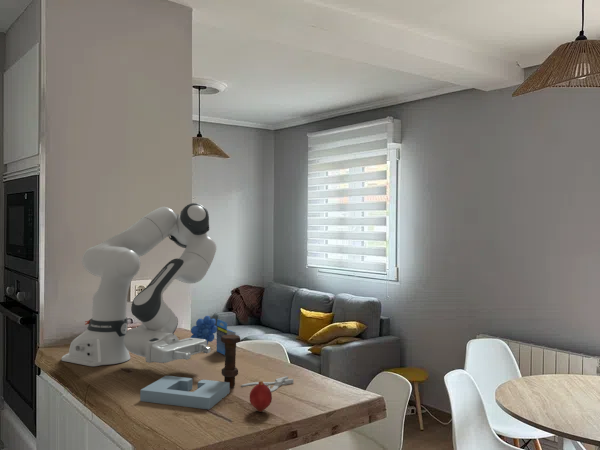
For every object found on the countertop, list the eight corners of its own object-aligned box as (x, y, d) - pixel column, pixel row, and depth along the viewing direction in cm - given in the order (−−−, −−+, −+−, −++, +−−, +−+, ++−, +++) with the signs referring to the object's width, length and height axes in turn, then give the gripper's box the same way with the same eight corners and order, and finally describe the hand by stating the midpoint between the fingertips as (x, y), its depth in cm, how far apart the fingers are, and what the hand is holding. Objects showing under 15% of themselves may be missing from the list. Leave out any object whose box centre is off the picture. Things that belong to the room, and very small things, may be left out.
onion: (249, 407, 142) (250, 377, 142) (271, 407, 143) (271, 377, 143) (249, 415, 137) (249, 384, 136) (271, 415, 137) (272, 384, 137)
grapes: (210, 343, 213) (211, 312, 213) (220, 346, 208) (220, 315, 208) (184, 347, 205) (185, 315, 205) (193, 350, 200) (194, 318, 200)
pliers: (240, 382, 160) (280, 373, 170) (240, 387, 160) (280, 378, 170) (260, 390, 152) (300, 381, 162) (260, 396, 152) (300, 386, 162)
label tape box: (236, 355, 195) (237, 321, 195) (226, 356, 193) (226, 322, 193) (225, 350, 203) (226, 317, 202) (215, 351, 200) (216, 318, 200)
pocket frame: (140, 401, 145) (140, 389, 145) (165, 385, 159) (166, 375, 159) (209, 409, 140) (209, 398, 140) (229, 392, 154) (229, 382, 154)
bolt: (240, 384, 161) (242, 334, 161) (237, 390, 156) (238, 338, 156) (221, 383, 162) (223, 333, 161) (217, 389, 157) (218, 337, 156)
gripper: (187, 350, 181) (220, 356, 174) (141, 363, 163) (176, 370, 157) (187, 331, 181) (220, 337, 174) (142, 342, 163) (177, 349, 156)
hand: (199, 353), depth 165 cm, fingers open, 8 cm apart
